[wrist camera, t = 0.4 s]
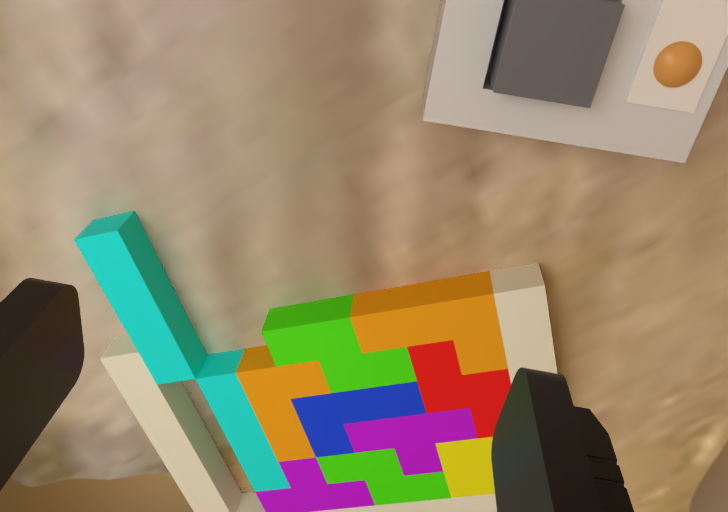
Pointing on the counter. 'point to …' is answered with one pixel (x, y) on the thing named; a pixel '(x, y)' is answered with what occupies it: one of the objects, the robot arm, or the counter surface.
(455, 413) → the puzzle game
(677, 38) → the button panel
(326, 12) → the counter surface
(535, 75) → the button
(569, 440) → the robot arm
